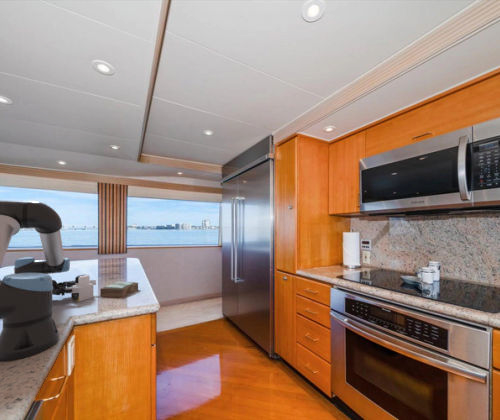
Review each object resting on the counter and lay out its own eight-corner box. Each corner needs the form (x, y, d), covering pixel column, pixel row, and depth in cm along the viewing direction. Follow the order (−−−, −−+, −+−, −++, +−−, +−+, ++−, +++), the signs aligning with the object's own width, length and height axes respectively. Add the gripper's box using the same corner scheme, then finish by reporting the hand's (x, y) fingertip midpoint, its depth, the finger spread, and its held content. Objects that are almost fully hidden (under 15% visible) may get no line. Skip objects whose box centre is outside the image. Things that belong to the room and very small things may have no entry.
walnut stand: (121, 297, 123) (121, 288, 123) (100, 296, 125) (100, 287, 125) (138, 289, 136) (138, 281, 136) (118, 288, 138) (118, 281, 138)
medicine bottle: (71, 299, 121) (71, 276, 121) (86, 295, 127) (86, 273, 127) (78, 301, 117) (78, 277, 118) (93, 297, 124) (93, 274, 124)
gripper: (61, 288, 133) (101, 286, 135) (23, 304, 108) (72, 301, 110) (62, 274, 133) (101, 273, 135) (23, 287, 108) (72, 285, 110)
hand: (88, 285), depth 123 cm, fingers open, 13 cm apart
